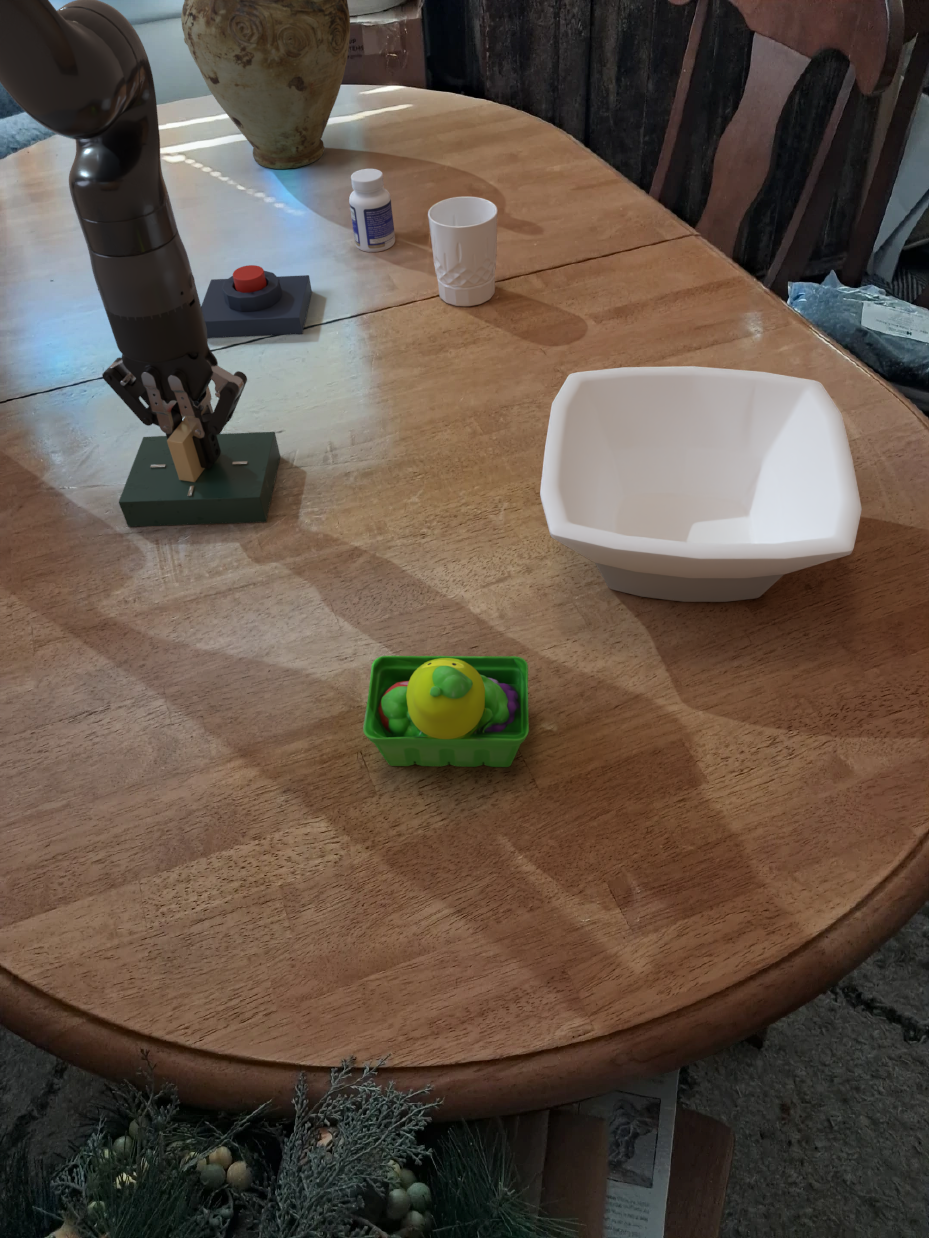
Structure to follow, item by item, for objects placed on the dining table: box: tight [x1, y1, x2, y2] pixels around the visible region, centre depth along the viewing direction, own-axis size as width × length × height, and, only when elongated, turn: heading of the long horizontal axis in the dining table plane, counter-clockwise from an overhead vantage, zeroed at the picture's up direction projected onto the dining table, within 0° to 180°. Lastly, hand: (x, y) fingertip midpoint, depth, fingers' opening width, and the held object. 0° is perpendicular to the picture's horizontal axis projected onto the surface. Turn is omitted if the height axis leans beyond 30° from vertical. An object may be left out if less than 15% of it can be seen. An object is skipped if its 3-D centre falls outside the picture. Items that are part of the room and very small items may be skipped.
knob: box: [167, 417, 205, 482], centre depth 91 cm, size 5×2×5 cm, turn 164°
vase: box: [180, 0, 351, 170], centre depth 140 cm, size 23×23×30 cm
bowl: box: [539, 365, 863, 603], centre depth 83 cm, size 24×25×10 cm
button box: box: [201, 270, 313, 339], centre depth 117 cm, size 12×10×4 cm
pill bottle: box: [348, 168, 396, 253], centre depth 126 cm, size 5×5×9 cm
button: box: [232, 264, 267, 293], centre depth 115 cm, size 4×4×2 cm
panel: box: [118, 431, 281, 528], centre depth 94 cm, size 13×10×3 cm
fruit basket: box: [362, 655, 530, 768], centre depth 69 cm, size 11×9×11 cm
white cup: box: [427, 196, 498, 307], centre depth 116 cm, size 8×8×10 cm
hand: (199, 461), depth 93 cm, fingers closed on knob
